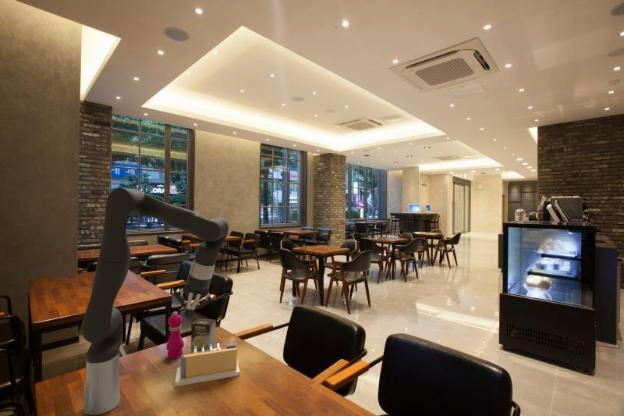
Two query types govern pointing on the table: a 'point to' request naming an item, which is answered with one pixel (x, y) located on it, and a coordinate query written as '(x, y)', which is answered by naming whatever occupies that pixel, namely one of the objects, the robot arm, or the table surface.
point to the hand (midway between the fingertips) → (187, 316)
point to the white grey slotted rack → (209, 376)
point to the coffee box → (203, 334)
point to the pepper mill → (175, 337)
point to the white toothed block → (207, 349)
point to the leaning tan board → (208, 362)
